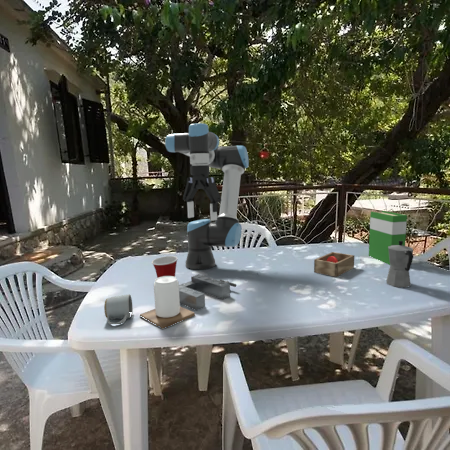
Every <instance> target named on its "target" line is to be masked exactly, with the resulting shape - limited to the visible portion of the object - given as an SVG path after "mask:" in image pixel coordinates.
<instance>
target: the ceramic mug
mask: <svg viewBox="0 0 450 450" xmlns="http://www.w3.org/2000/svg"><path fill="white" fill-rule="evenodd" d="M133 309H134V308H133V298H132V296H131V294H129V293H128V294H124V295H117V296H111V297H108V298H106V299H105V300H104V316H105V318H106V319H107V323H108V325H110V324H121V323H123V322H124V323H125V322H126V321H127V319H131V318H130V313H129V312H132V313H133V312H134V311H133ZM116 318H123V319H120V321H117V322H112V321H111V320H117V319H116ZM124 323H123V324H124Z"/></svg>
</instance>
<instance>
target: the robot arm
mask: <svg viewBox="0 0 450 450" xmlns="http://www.w3.org/2000/svg"><path fill="white" fill-rule="evenodd" d="M164 141H165V142H164V145H165V149H166V151H167V152H169V153H180V154H183V155H185V156H187V157H189V163H190V167H189V168H190V169H189V170H190V175H191V177H187V178H186V184H185V189H184V191H183V195H182V201H185V202H186V210H187V218H188V219H191V218H194V217H195V209H194V208H195V206H194V205H195V203H194V200H193V199H194V197H195V195H196V194H197V192H198V190H203V192H204V193H205V194H206V196H207V198H208V199H209V201H210V203H209V212H210V215H209V216H210V218H203V219H197V220H193V221H190V222H188V224H187V228H186V229H187V231H186V233H187V249H188V250H187V255H186V260H185V261H184V262H185V267H186V268H187V269H189V268H190V269H189V270H197V269H199V270H206V269H211V268H214V267H215V266H216V259H215V257H214V254H213V251H212V247H221V248H222V247H226V248H230V247H231V248H235V247H237V246H238V245H239V243H240V241H241V238H242V232H243V231H242V230H243V229H242V228H243V227H242V224H241V223H239V222H240V221H239V219H238V218H237V213H238V203H239V195H240V186H241V178H242V177H241V176H242V175H243V174H244V173H245V169H247V168H249V164H250V163H249V155H248V154H249V153H248V151H247V147H246V146H244V145H224V146H222V145H221V146H220V138H219V136H218V135H217V134H215V133H214V132H212V131H210V130H209V126H208V124H207V123H197V122H196V123H191V124H190V125H189V126H188V132H184V133H171V134H168V135H166V137H165V140H164ZM211 168H214V169H218V170H219V169H220V170H221V171H222V172H223V182H222V190H221V191H222V192H221V195H220V192H219V188H218V187H217V185H216V179H215V177H210V174H211V170H210V169H211ZM219 203H220V204H219ZM218 204H219V213H218ZM213 221H214V222H213Z"/></svg>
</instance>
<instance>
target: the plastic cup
mask: <svg viewBox="0 0 450 450" xmlns="http://www.w3.org/2000/svg"><path fill="white" fill-rule="evenodd" d="M177 262H178V256H175V255H174V256H173V255H169V256H168V255H166V256H160V257H156V258H155V259H152V261H151V264H152V265H153V268H154V269H155V272H156V279H157V278H159V277H163V276H174V277H176V271H177Z"/></svg>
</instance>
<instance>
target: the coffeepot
mask: <svg viewBox="0 0 450 450" xmlns="http://www.w3.org/2000/svg"><path fill="white" fill-rule="evenodd" d="M402 244H403V241H399V245H391V246H388V250H389V261H390V265H389V269H388V273H387V276H386V284H387V285H388V286H391V287H394V288H401V287H404V288H409V287H411V276H410V269H411V266H412V263H413V260H414V254H413V253H414V249H413V247H411V246H408V245H405V246H403V245H402ZM408 286H409V287H408Z"/></svg>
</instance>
